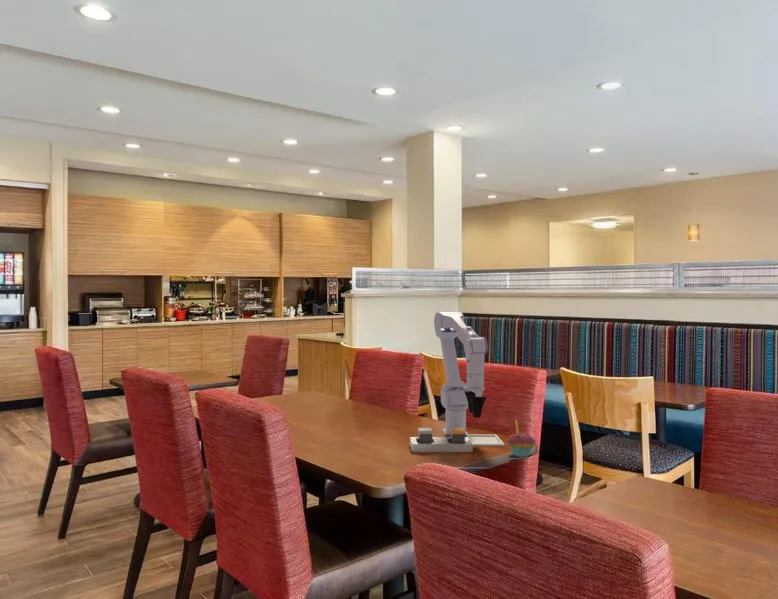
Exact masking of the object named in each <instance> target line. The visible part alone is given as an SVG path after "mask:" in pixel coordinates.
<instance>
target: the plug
mask: <svg viewBox="0 0 778 599" xmlns="http://www.w3.org/2000/svg"><path fill="white" fill-rule="evenodd" d="M449 437H450V443H465V437H466V435H465V430H464V429H463V428H450V436H449Z"/></svg>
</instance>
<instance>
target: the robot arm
mask: <svg viewBox="0 0 778 599" xmlns="http://www.w3.org/2000/svg"><path fill="white" fill-rule="evenodd" d="M433 318H434V320H433V326H434V331H435V335H436V337H437V338H439V339H440V340H439V341H440V345H441V351H442V359H443V365H444V370H445V371H444V372H445V377H446V382H445V383H444V384H443V385H442V386H441V388H440V404H441V405H442V407H443V408H444V409H445V428H443V427H442V431H443V432H444V434H445V435H450V428H463V429H464V430H465V436H466V434H469V433H468V432H467V431H466V430H467V429H466V428H467V410H468V411H469V413H470V414H472V415H473V416H472V417H473V418H477V419H478V418H481V416H482V412H483V407H484V404H485V402H486V400H487V399H488V398H487V396H486V395H483V391H485V355H486V354H487V352H488V349H489V345H488V340H487V338H486V337H485V336H479V335H478V334H477V333H476V331H475V330H474V329H473V328H472V326H469V325H468V326H467V325H466V323H465V316H464V314H463V312H461V311H437V312H436V313H435V314H434V317H433ZM455 338H458V340H459V341H460V343H462V345H463V350H464V356H465V357H464V358H465V360H466V383H465V382H464V381H463V380H462V379H461V374H460V369H459V368H460V367H459V362H458V357H457V350H456V344H455Z"/></svg>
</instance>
